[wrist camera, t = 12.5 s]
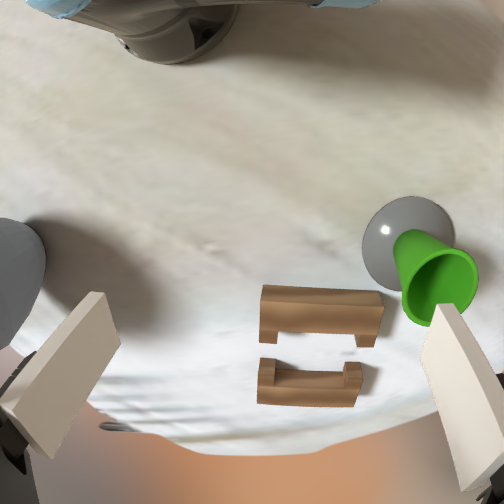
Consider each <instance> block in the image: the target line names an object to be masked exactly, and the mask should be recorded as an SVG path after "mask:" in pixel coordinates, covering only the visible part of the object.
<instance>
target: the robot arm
mask: <svg viewBox="0 0 504 504" xmlns="http://www.w3.org/2000/svg"><path fill="white" fill-rule="evenodd" d="M25 1H26V3H28V5H29V6H31V7H32V8H34V9H36V10H39V11H41V12H44V13H46V14H48V15H50V16H51V17H54V18H57V19H59V18H60V19H63V18H64V19H68V20H72V21H75V22H79V23H82V24H86V25H89V26H92V27H96V28H99V29H102V30H105V31H108V32H111V33H114V34H115V36H116V37H117V38H118V40H119V42H120V43H121V44H122V46H123V47H124V48H125V49H126V50H127V51H128V52H130V53H131V54H133V55H134V56H136V57H138V58H141V59H143V60H146V61H150V62H153V63H158V64H176V63H182V62H186V61H189V60H192V59H194V58H197V57H199V56H201V55H203V54H204V53H206V52H207V51H209V50H210V49H212V48H213V47H214V46H216V45H217V44H218V43H219V42H220V41H221V40H222V39H223V38H224V36H225V35H226V34H227V33H228V31H229V30H230V28H231V26H232V24H233V22H234V20H235V17H236V14H237V9H238V4H256V3H275V4H302V5H307V6H308V7H311V8H320V7H324V6H331V7H344V8H365V7H367V6H369V5H371V4H375V3H377V2H378V1H380V0H25ZM120 344H121V343H120V340H119V337H118V334H117V331H116V328H115V325H114V322H113V319H112V315H111V312H110V309H109V305H108V302H107V298H106V295H105V293H103V292H92V291H90V292H89V293H88V294H87V295H86V297H85V298H84V299H83V300H82V301H81V302H80V303H79V304H78V305H77V306H76V307H75V309H74V310H73V311H72V312H71V313H70V314H69V315H68V316H67V317H66V319H65V320H64V321H63V322H62V323H61V324H60V325H59V327H58V328H57V329H56V330H55V331H54V332H53V333H52V335H51V336H50V337H49V338H48V339H47V340H46V342H45V343H44V344H43V345H42V346H41V348H40V349H39V350H38V351H34V352H33V353H31V354H30V355H29V356H27V357H26V358H24V360H23V361H22V362H21V363H20V364H19V366H18V367H17V369H15V371H14V372H13V373H12V376H10V377H9V378H8V379H7V381H6V382H5V383H4V385H3V386H2V387H1V388H0V504H39V499H38V496H37V491H36V487H35V482H34V477H33V472H32V467H31V461H30V455H29V453H28V451H27V449H26V447H27V446H28V444H30V446H31V447H32V448H33V449H34V450H35V451H36V452H37V453H39V454H41V455H43V456H45V457H47V458H49V459H51V460H52V459H53V457H54V456H55V454H56V452H57V450H58V448H59V446H60V445H61V443H62V441H63V439H64V438H65V436H66V434H67V432H68V430H69V429H70V427H71V425H72V423H73V422H74V420H75V418H76V417H77V415H78V413H79V411H80V410H81V408H82V406H83V404H84V403H85V401H86V400H87V398H88V396H89V394H90V393H91V391H92V389H93V388H94V386H95V385H96V383H97V381H98V380H99V378H100V376H101V375H102V373H103V371H104V370H105V368H106V367H107V365H108V363H109V362H110V360H111V359H112V357H113V355H114V354H115V352H116V351H117V349H118V348H119V346H120ZM419 358H420V361H421V363H422V366H423V369H424V371H425V374H426V377H427V379H428V382H429V385H430V388H431V390H432V393H433V396H434V399H435V402H436V405H437V408H438V411H439V414H440V417H441V420H442V423H443V427H444V430H445V433H446V436H447V440H448V443H449V447H450V450H451V453H452V457H453V461H454V465H455V468H456V472H457V477H458V481H459V485H460V489H461V492H465V491H468V490H471V489H475V488H478V487H480V486H482V485H483V484H484V483H485V482H486V481H487V480H488V479H489V478H490V481H491V484H492V485H491V486H489V487H488V488H487V489H486V490H485V491H484V492H483V493H481V494H480V495H479V496H478V498H477V499H476V501H479V500H480V499H481V498H483V497H484V498H483V501H482V502H481V504H504V374H503V373H500V374H495V372H494V371H493V369H492V367H491V365H490V363H489V362H488V360H487V358H486V356H485V354H484V353H483V351H482V349H481V347H480V346H479V344H478V342H477V341H476V339H475V337H474V336H473V334H472V332H471V331H470V329H469V327H468V326H467V324H466V323H465V321H464V319H463V318H462V316H461V315H460V313H459V312H458V310H457V308H456V307H455V305H454V304H453V303H444V304H437V305H436V309H435V312H434V315H433V318H432V321H431V324H430V328H429V331H428V334H427V336H426V339H425V342H424V345H423V348H422V351H421V353H420V356H419Z"/></svg>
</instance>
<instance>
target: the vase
mask: <svg viewBox="0 0 504 504" xmlns="http://www.w3.org/2000/svg"><path fill="white" fill-rule="evenodd" d="M45 267H46V254H45V249H44V245H43V243H42V241H41V239H40V237H39V236H38V234H37V233H36V232H35V231H34V230H33V229H32V228H30V227H29V226H27V225H25V224H24V223H21V222H18V221H15V220H11V219H8V218H0V350H1V349H3V348H4V347H6V346H8V345H9V344H10V342H11V341H12V339H13V337H14V336H15V334H16V333H17V332H18V330H19V329H20V327H21V326H22V324H23V323H24V321H25V320H26V318H27V317H28V315H29V314H30V312H31V310H32V307H33V305H34V303H35V300H36V298H37V296H38V294H39V292H40V289H41V286H42V282H43V278H44V273H45Z"/></svg>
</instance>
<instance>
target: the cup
mask: <svg viewBox="0 0 504 504" xmlns="http://www.w3.org/2000/svg"><path fill="white" fill-rule="evenodd" d="M393 256H394V259H395V263H396V267H397V271H398V275H399V279H400V283H401V287H402V305H403V309H404V312H405V313H406V315H407V316H408V318H409V319H411V320H412V321H413V322H414V323H417V324H419V325H422V326H427V327H430V324H431V321H432V318H433V315H434V312H435V309H436V305H437V304H444V303H453V304H454V305H455V307H456V308H457V310H458V312H459V313H460V315H461V314H462V313H463V312H464V311H465V310H466V308H467V307H468V306H469V305H470V303H471V301H472V300H473V298H474V296H475V293H476V290H477V287H478V279H479V278H478V269H477V266H476V264H475V261H474V260H473V259H472V257H471V256H470V255H469V254H468V253H466V252H464V251H463V250H459V249H455V248H451V247H449V246H447V245H446V244H444V243H442V242H440V241H439V240H437V239H435V238H433V237H431V236H430V235H428V234H426V233H424V232H422V231H421V230H417V229H411V230H407V231H405V232H403V233H402V234H400V235H399V236H398V238H397V239H396V241H395V243H394V247H393Z"/></svg>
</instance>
